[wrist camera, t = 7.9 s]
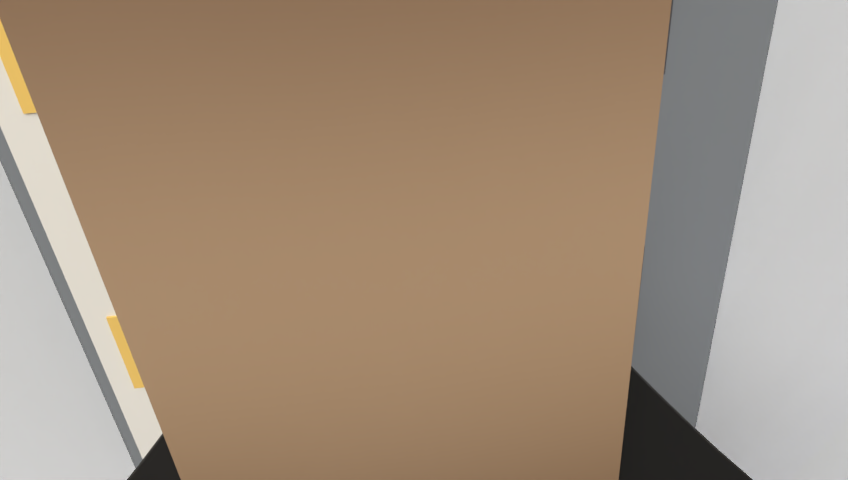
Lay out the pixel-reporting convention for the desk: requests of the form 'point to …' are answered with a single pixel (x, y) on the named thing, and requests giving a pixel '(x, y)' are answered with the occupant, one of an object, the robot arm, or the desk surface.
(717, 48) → the switch board
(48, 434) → the desk surface
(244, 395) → the pusher bar
